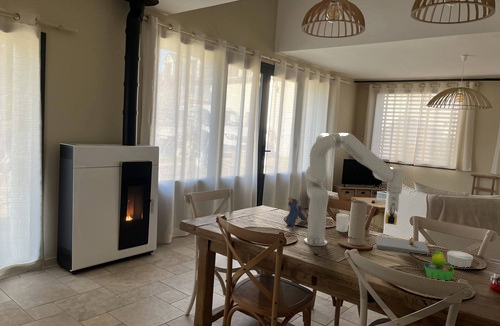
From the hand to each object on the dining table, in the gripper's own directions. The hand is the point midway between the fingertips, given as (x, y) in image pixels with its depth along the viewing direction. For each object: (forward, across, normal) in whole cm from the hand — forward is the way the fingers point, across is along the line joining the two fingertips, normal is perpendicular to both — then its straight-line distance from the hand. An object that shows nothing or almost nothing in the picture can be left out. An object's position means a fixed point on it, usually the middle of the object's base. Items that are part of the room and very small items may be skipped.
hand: (390, 221), depth 205 cm
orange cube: (+1, 0, 0) cm, 1 cm away
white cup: (+14, +18, +26) cm, 35 cm away
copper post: (+11, 0, -12) cm, 16 cm away
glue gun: (+15, +23, +55) cm, 61 cm away
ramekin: (+13, -17, -32) cm, 38 cm away
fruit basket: (+13, -39, -19) cm, 45 cm away
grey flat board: (+13, 0, -7) cm, 15 cm away
